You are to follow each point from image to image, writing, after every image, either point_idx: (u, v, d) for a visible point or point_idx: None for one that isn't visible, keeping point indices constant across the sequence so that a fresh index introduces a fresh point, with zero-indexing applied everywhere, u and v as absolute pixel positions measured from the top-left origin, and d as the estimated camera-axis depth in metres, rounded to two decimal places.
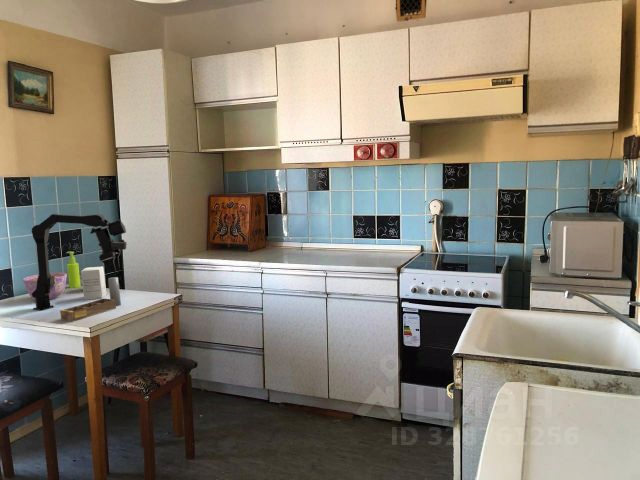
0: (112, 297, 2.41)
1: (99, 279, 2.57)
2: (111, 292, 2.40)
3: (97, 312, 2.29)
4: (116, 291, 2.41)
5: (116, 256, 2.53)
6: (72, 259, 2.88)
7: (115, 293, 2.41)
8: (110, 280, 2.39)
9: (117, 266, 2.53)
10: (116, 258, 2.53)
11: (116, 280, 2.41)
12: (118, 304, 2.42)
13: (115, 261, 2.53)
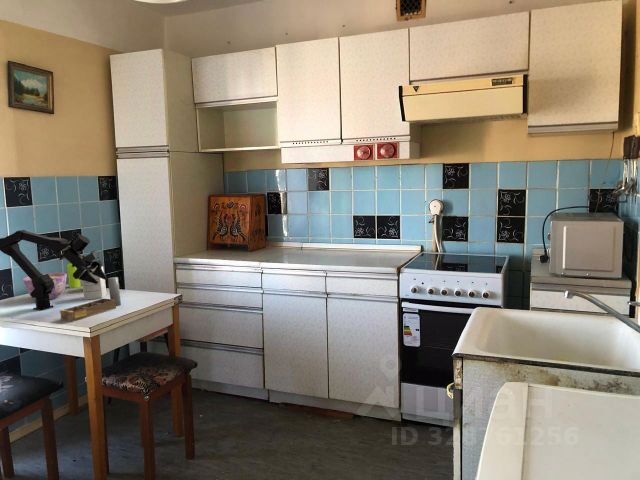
0: (112, 297, 2.41)
1: (99, 279, 2.57)
2: (111, 292, 2.40)
3: (97, 312, 2.29)
4: (116, 291, 2.41)
5: (98, 269, 2.46)
6: None
7: (115, 293, 2.41)
8: (110, 280, 2.39)
9: (104, 277, 2.46)
10: (99, 270, 2.46)
11: (116, 280, 2.41)
12: (118, 304, 2.42)
13: (100, 274, 2.46)
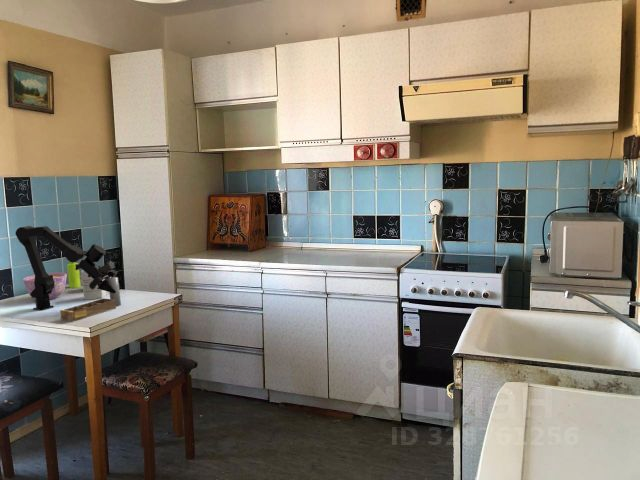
0: (112, 297, 2.41)
1: None
2: None
3: (97, 312, 2.29)
4: (116, 291, 2.41)
5: None
6: None
7: (115, 293, 2.41)
8: (110, 280, 2.39)
9: None
10: None
11: (116, 280, 2.41)
12: (118, 304, 2.42)
13: None
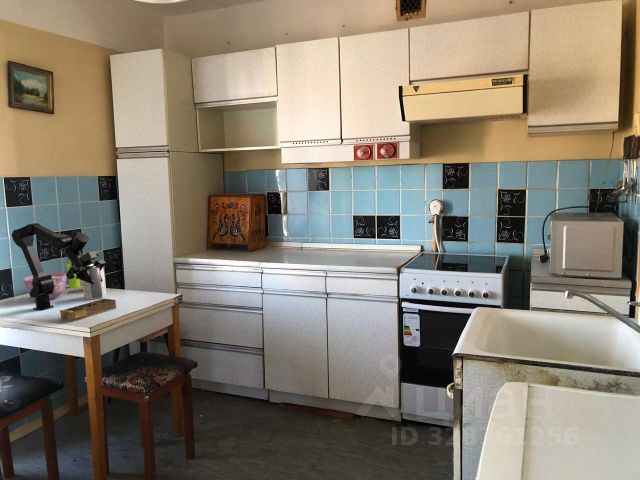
0: (92, 288, 2.29)
1: None
2: None
3: (97, 312, 2.29)
4: (95, 282, 2.29)
5: None
6: None
7: (94, 285, 2.29)
8: (89, 270, 2.28)
9: None
10: None
11: (95, 271, 2.28)
12: (98, 296, 2.30)
13: None
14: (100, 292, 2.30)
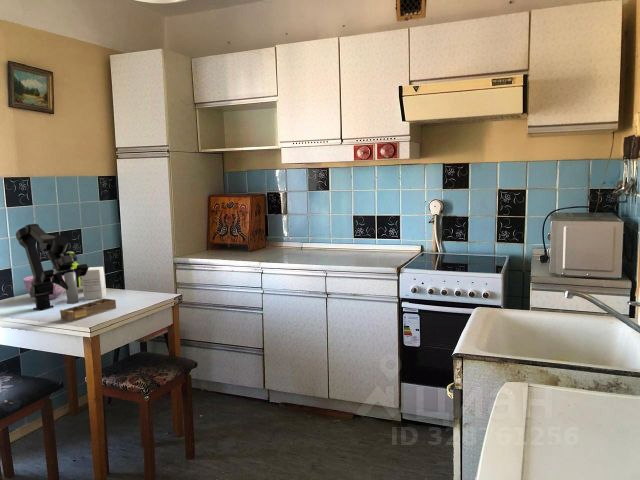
0: (66, 293, 2.21)
1: (99, 279, 2.57)
2: None
3: (97, 312, 2.29)
4: (69, 287, 2.20)
5: None
6: None
7: (68, 290, 2.20)
8: (64, 275, 2.20)
9: None
10: None
11: (69, 276, 2.19)
12: (72, 302, 2.21)
13: None
14: (74, 298, 2.21)
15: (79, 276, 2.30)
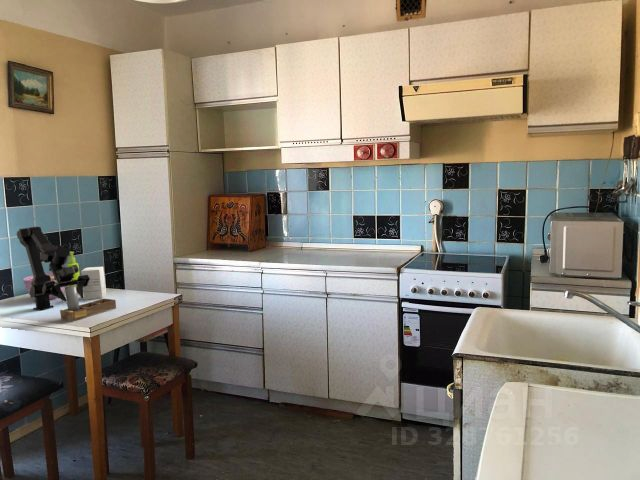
0: (68, 308, 2.21)
1: (99, 279, 2.57)
2: (67, 302, 2.21)
3: (97, 312, 2.29)
4: (70, 302, 2.20)
5: (78, 285, 2.26)
6: (72, 259, 2.88)
7: (69, 305, 2.21)
8: (65, 289, 2.20)
9: (81, 295, 2.25)
10: (79, 287, 2.26)
11: (70, 290, 2.20)
12: None
13: (79, 291, 2.26)
14: None
15: None
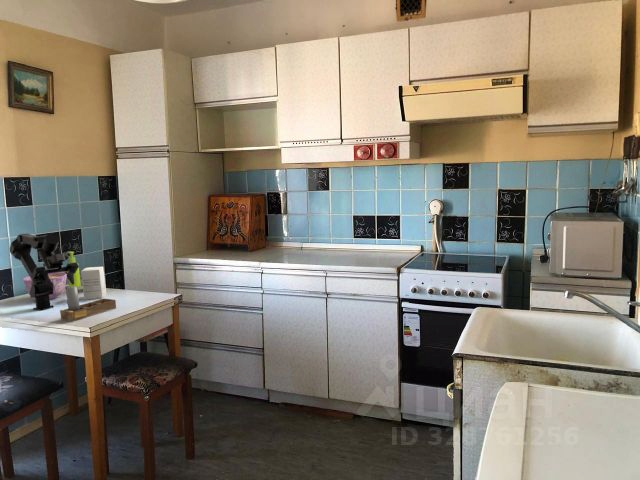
0: (68, 308, 2.22)
1: (99, 279, 2.57)
2: None
3: (97, 312, 2.29)
4: (70, 302, 2.20)
5: (69, 272, 2.33)
6: (72, 259, 2.88)
7: (70, 305, 2.21)
8: (66, 289, 2.20)
9: (71, 282, 2.32)
10: (70, 274, 2.33)
11: (71, 290, 2.20)
12: None
13: (70, 277, 2.33)
14: None
15: None
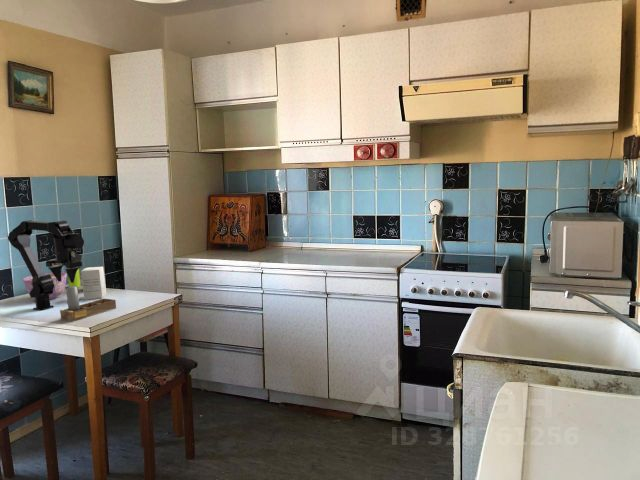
0: (68, 308, 2.22)
1: (99, 279, 2.57)
2: None
3: (97, 312, 2.29)
4: (71, 302, 2.20)
5: (60, 268, 2.41)
6: None
7: (70, 305, 2.21)
8: (66, 289, 2.20)
9: (59, 279, 2.40)
10: (59, 270, 2.40)
11: (71, 290, 2.20)
12: None
13: (58, 273, 2.40)
14: None
15: (49, 266, 2.38)
